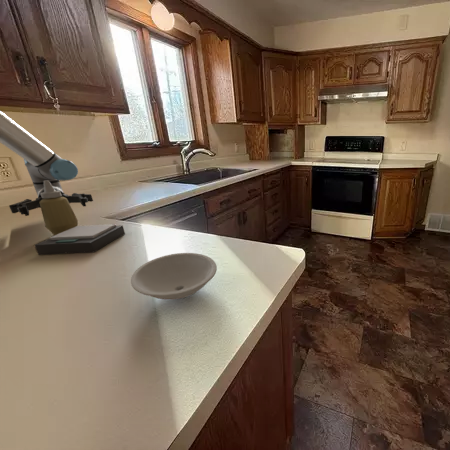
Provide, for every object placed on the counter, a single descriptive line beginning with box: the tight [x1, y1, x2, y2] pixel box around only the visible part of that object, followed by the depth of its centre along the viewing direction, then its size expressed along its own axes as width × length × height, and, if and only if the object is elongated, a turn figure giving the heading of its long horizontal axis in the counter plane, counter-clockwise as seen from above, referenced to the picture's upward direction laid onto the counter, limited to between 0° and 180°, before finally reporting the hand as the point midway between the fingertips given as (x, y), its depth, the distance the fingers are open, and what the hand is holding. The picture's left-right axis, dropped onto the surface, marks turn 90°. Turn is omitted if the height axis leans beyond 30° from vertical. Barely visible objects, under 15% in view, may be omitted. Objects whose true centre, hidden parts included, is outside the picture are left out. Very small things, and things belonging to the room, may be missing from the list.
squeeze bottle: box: [39, 180, 79, 236], centre depth 80 cm, size 8×8×18 cm
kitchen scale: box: [33, 223, 126, 256], centre depth 74 cm, size 15×14×4 cm
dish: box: [130, 252, 218, 301], centre depth 48 cm, size 18×14×5 cm
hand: (56, 206), depth 78 cm, fingers open, 13 cm apart
